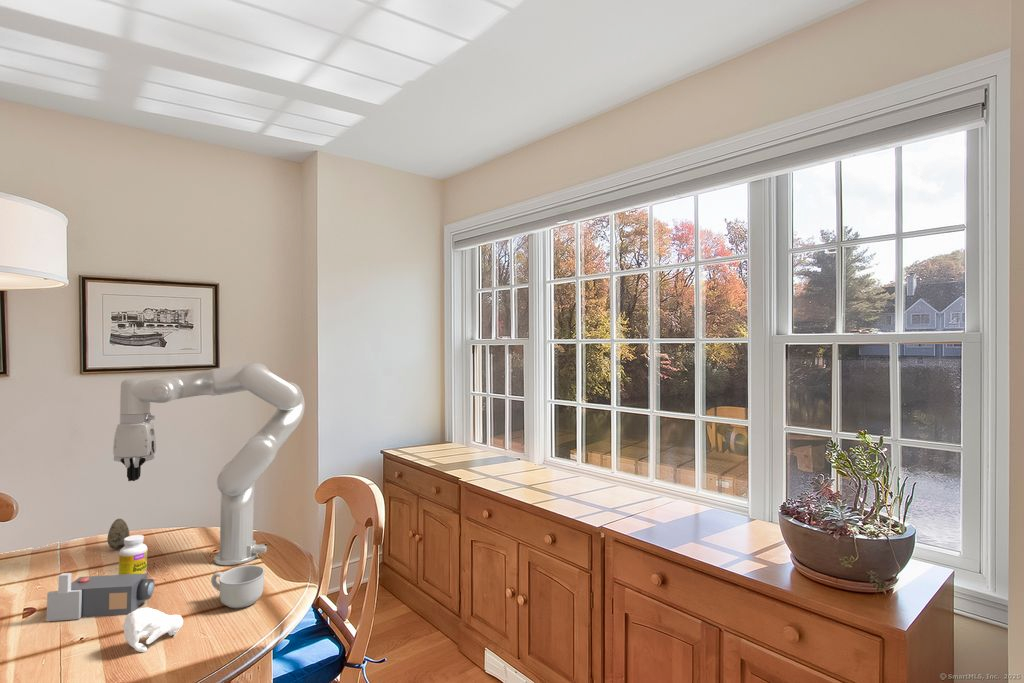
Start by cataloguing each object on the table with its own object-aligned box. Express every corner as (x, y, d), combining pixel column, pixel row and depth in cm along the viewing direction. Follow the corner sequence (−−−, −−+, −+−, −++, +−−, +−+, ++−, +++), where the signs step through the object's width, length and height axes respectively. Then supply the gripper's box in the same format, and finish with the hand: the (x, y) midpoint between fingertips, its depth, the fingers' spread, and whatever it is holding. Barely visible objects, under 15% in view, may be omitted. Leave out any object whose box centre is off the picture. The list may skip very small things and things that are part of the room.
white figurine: (121, 609, 121) (179, 594, 131) (116, 648, 121) (174, 631, 130) (132, 617, 118) (191, 602, 127) (127, 658, 117) (186, 640, 127)
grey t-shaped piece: (81, 616, 135) (82, 572, 135) (78, 619, 133) (79, 574, 133) (49, 618, 133) (51, 573, 134) (46, 621, 132) (47, 576, 132)
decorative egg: (131, 548, 181) (132, 518, 181) (109, 553, 176) (110, 522, 176) (126, 544, 184) (127, 514, 185) (105, 549, 180) (105, 518, 180)
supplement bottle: (132, 588, 151) (133, 542, 151) (112, 586, 152) (113, 540, 152) (152, 578, 157) (153, 534, 158) (133, 576, 159) (134, 532, 159)
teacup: (272, 597, 147) (273, 568, 147) (240, 616, 136) (241, 584, 136) (233, 589, 151) (233, 561, 151) (199, 607, 141) (199, 576, 141)
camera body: (156, 599, 145) (157, 570, 145) (141, 613, 137) (142, 583, 137) (79, 603, 142) (80, 574, 142) (59, 618, 134) (60, 587, 134)
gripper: (167, 417, 169) (166, 476, 169) (114, 418, 167) (113, 477, 166) (156, 420, 162) (154, 482, 162) (100, 421, 159) (98, 483, 159)
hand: (133, 479), depth 164 cm, fingers closed
